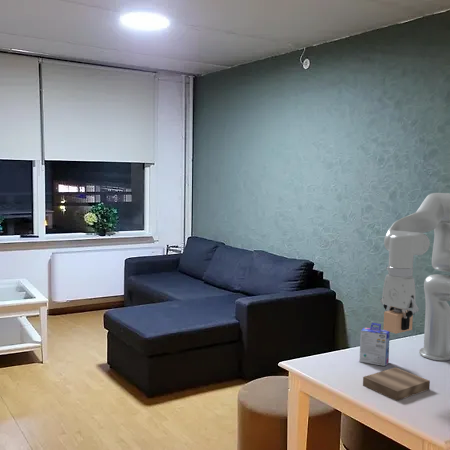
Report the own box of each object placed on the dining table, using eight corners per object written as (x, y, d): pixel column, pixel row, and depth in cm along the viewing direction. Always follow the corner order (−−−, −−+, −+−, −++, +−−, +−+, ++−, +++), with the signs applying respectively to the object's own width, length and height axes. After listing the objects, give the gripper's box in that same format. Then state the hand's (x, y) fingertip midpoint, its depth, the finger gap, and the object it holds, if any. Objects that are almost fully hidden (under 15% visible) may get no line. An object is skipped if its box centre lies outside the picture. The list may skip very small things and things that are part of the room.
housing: (383, 329, 178) (384, 308, 177) (399, 326, 182) (400, 305, 182) (395, 333, 174) (396, 312, 173) (412, 329, 178) (413, 308, 177)
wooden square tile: (395, 375, 191) (395, 367, 190) (429, 389, 179) (429, 380, 179) (362, 385, 182) (363, 376, 182) (396, 400, 170) (397, 391, 170)
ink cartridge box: (389, 362, 204) (390, 324, 202) (386, 366, 199) (387, 328, 197) (362, 357, 208) (364, 320, 207) (359, 362, 204) (360, 324, 202)
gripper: (372, 269, 181) (369, 322, 183) (414, 278, 167) (412, 335, 169) (387, 267, 185) (385, 319, 187) (430, 275, 171) (427, 332, 173)
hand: (397, 326), depth 178 cm, fingers closed on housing, 5 cm apart
